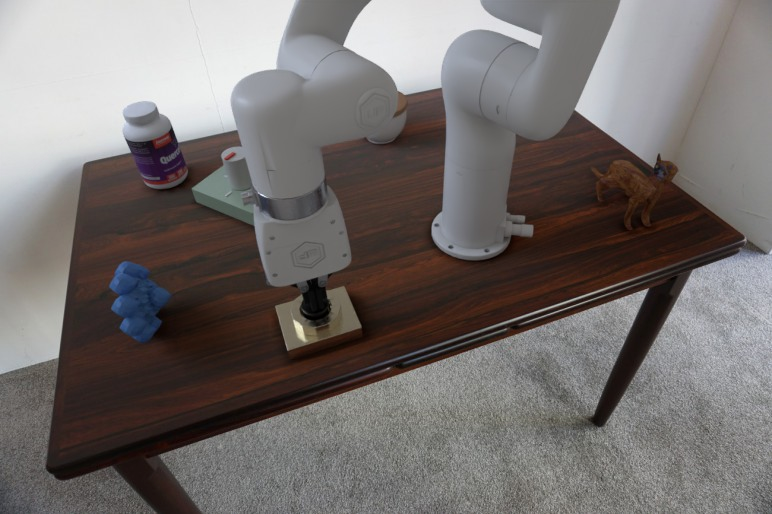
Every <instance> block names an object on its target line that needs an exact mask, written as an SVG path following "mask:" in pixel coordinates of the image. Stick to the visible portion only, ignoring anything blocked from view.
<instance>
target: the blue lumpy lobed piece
mask: <svg viewBox="0 0 772 514" xmlns="http://www.w3.org/2000/svg"><path fill="white" fill-rule="evenodd" d="M150 272H151V270H149V269H147V267H145V266H144V265H143V264H139V263H134V262H131V261H128V260H125V261H122V262H121V263H119V264H118V266H117V268H116V270H115V271H114V277H113V278H112V279H111V282H110V283H109V285H108V288H109V289H110V290H111V291H113V292H114V293H115V294H117V295H119V296H118V297H117V298H116V299H115V300H114V301H113V303H112V305H111V308H110V310H111V311H112V312H114V313H115V315H118V316H119V317H121V318H124V319H123V320H122V322H121V324H120V325H119V329H120V331H122V332H123V333H124V334H126V335H127V336H129V337H131V338H132V339H134V340H135V341H137V342H138V343H141V344H144V343H148V342H149V341H150V340H151V339H153V337H154V335H155V333H156V332H157V331H158V330H159V329H160V327H161V325H162V323H163V321H162V320H161V319H160V318H158V317H157V316H156V315H157V314H158V313H160V310H161V309H162V308H163V307H164V306H165V305H167V304H168V302H169V301H170V299H171V297H172V293H171V292H169V290H167V289H165V288H164V287H161V286H159V285H158V284H157V283H156V282H154V281H153V280H151V278H150V279H149V278H148V276H149V274H150Z"/></svg>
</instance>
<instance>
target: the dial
mask: <svg viewBox="0 0 772 514" xmlns="http://www.w3.org/2000/svg"><path fill="white" fill-rule="evenodd" d="M220 157H221V160H222V164H223V165H224V167H225V170H226V174H227V177H228V180H229V184H230V187H231V188H232V189H234V190H246V189H249V188H251V187H250V186H253V184H252V180H251V177H250V173H249V170H248V166H247V162H246V159H245V155H244V152H243V148H242V146H232V147H228V148H226V149H224V150H223V152H222V153H221V155H220Z"/></svg>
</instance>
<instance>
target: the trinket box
mask: <svg viewBox="0 0 772 514" xmlns="http://www.w3.org/2000/svg"><path fill="white" fill-rule="evenodd" d="M408 103H409V101H408V97H407V96H406V95H405V94H404V93H403V92H401V91H399V90H398V105H397V109H396V112H395V114H394V116H393V117H392V119H391V120H390V121H389V123H388V124H387V125H386V126H385V127H384V128H382V129H381V130H379V131H378V132H376V133H374V134H372V135H370V136H368V137H365V139H366V140H367V141H368V142H370V143H372V144H376V145H385V144H389V143H392V142H393V141H395V140H396V139H397V137H398V136H399V135H400V134H401V133H402V132H403V130H404V128H405V126H406V123H407V115H408V106H409V105H408Z"/></svg>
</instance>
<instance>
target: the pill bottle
mask: <svg viewBox="0 0 772 514" xmlns="http://www.w3.org/2000/svg"><path fill="white" fill-rule="evenodd" d="M122 116H123V118H124V120H125V123H124V124H123V126H122V131H121V132H122V135H123V137H124V140H125V142H126V144H127V147H128V149H129V151H130V153H131V155H132V158H133V160H134V163H135V164H136V167H137V169H138V171H139V174H140V176H141V179H142V180H143V182H144V184H145V185H146V186H147V187H148V188H151V189H154V190H166V189H167V190H168V189H171V188H174V187H177V186H178V185H179V184H182V183H183V182H184V181H185V180H186V178H187V177H188V174H189V169H188V165H187V163H186V161H185V157H184V155H183V152H182V149H181V147H180V144H179V141H178V138H177V135H176V133H175V130H174V127H173V125H172V122H171V119H170V118H169V117H168V116H166V115H165V114H163V113H160V111H159V108H158V106H157V104H156V103H155V102H153V101H150V100H141V101H137V102H133V103H130V104H129V105H127V106H126V107H124V108H123V110H122Z"/></svg>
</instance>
